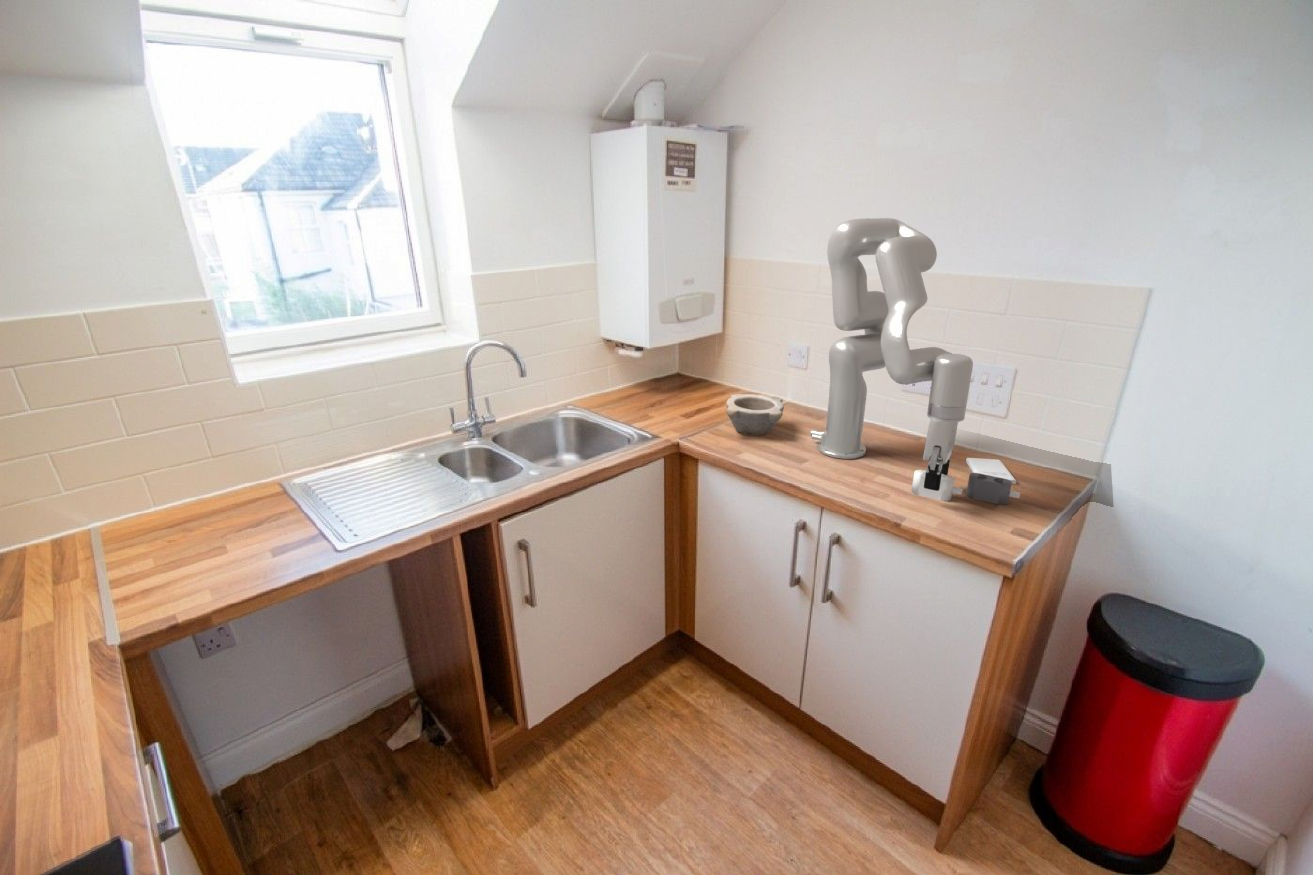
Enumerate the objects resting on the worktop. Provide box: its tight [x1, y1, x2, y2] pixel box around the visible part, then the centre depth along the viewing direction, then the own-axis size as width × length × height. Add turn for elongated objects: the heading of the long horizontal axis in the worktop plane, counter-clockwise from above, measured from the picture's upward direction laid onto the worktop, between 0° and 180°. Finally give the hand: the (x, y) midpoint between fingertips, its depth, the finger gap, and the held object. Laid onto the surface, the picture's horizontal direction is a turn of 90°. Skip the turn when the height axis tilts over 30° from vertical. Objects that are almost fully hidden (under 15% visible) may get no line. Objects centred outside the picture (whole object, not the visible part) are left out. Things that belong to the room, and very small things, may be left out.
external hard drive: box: [965, 457, 1017, 485], centre depth 151 cm, size 2×8×12 cm
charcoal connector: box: [965, 472, 1021, 506], centre depth 137 cm, size 11×4×5 cm, turn 56°
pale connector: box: [910, 469, 964, 502], centre depth 139 cm, size 11×4×5 cm, turn 56°
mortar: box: [725, 393, 785, 437], centre depth 179 cm, size 17×17×9 cm
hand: (935, 481), depth 138 cm, fingers open, 9 cm apart
